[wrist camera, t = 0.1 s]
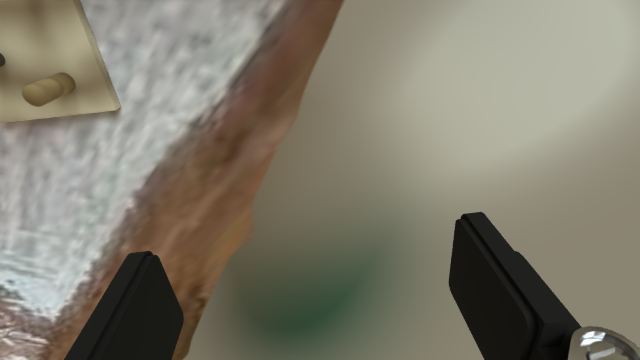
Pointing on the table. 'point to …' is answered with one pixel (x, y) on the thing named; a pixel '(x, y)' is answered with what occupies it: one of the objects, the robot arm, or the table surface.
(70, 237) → the table surface
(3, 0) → the cream peg board
